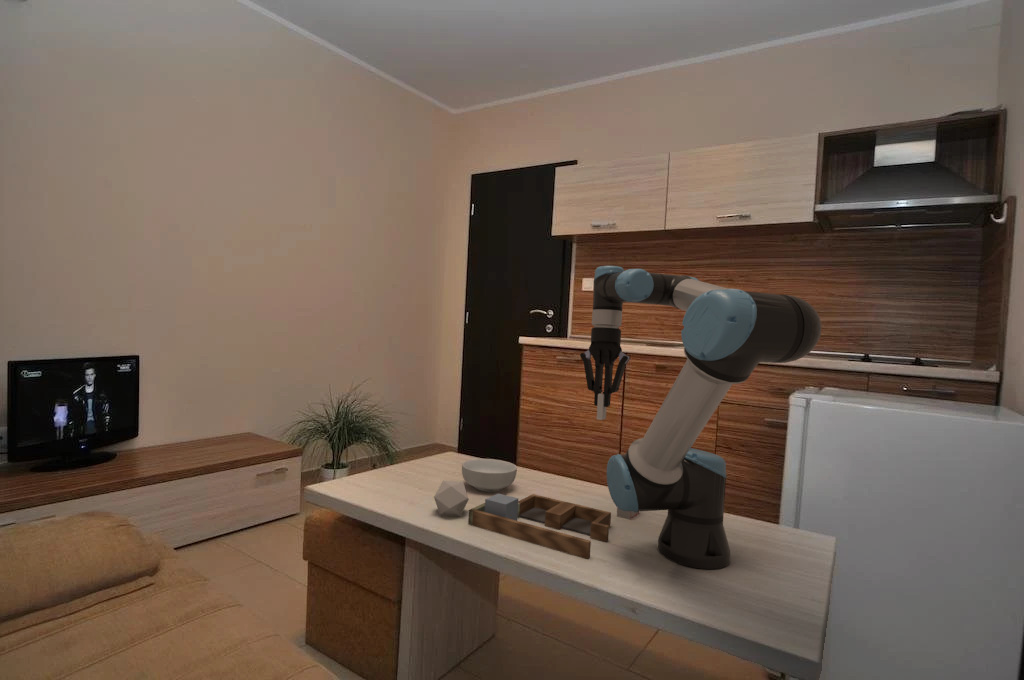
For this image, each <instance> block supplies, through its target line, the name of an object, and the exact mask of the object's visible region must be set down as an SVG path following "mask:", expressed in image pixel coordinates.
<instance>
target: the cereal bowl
mask: <svg viewBox="0 0 1024 680" xmlns="http://www.w3.org/2000/svg"><path fill="white" fill-rule="evenodd" d="M517 469H518V467H517V465H516V464H514V463H512V462H509V461H506V460H501V459H494V458H472V459H468V460H465V461H464V462H463V463H462V464H461V474H462V478H463V480H464V481H465V482H466V484H469V486H472V487H473V488H475V489H476V490H478V491H480V492H486V493H487V492H489V493H493V492H499V491H500V490H502V489H504V488H508V487H509V486H511V485H513V483H514V481H515V480H516V477H517Z"/></svg>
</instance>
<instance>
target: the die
mask: <svg viewBox="0 0 1024 680" xmlns="http://www.w3.org/2000/svg"><path fill="white" fill-rule="evenodd" d="M433 498H434V501H435V504H436V507H437V510H438V514H439V516H448V517H449V516H450V517H461V516H462V514H463V513H464V510H465V508H466V506H467V504H468V502H469V496H468V494H467V490H466V486H465V482H464V481H462V480H461V481H458V480H442V481H441V483H440V485H439V487H438V489H437V491H436V492H435V494H434V496H433Z"/></svg>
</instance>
